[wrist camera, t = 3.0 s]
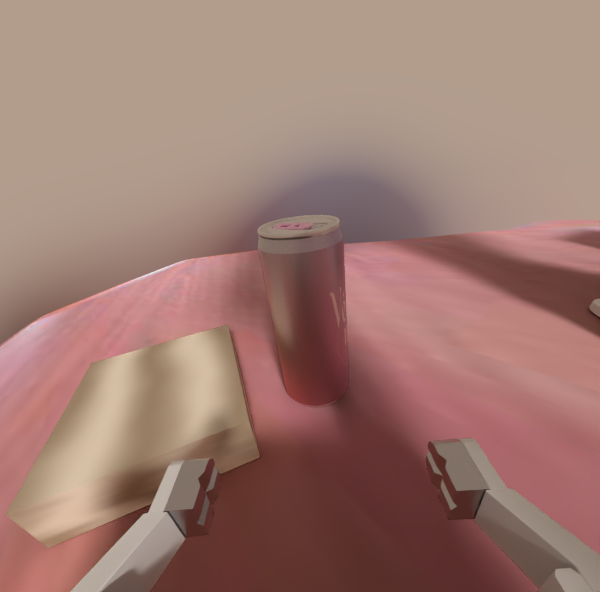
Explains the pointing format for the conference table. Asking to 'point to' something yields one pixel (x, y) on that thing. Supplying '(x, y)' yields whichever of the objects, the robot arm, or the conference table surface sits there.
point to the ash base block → (137, 434)
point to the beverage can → (307, 304)
